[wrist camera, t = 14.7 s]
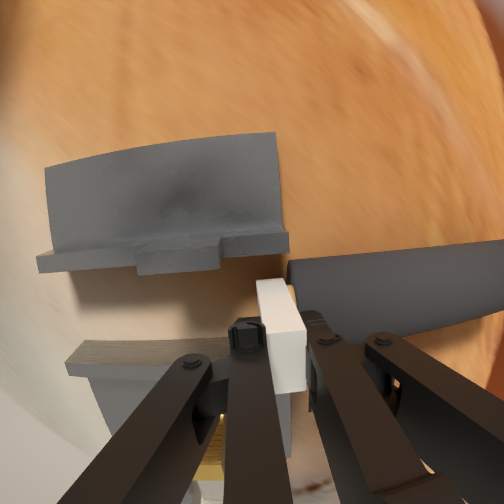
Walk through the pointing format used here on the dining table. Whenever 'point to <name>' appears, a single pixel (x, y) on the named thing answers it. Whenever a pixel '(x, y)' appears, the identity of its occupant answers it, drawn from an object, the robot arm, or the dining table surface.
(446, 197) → the dining table surface
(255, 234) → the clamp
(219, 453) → the white and yellow slider
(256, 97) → the dining table surface
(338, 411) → the robot arm
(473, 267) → the dark grey cylinder
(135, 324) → the dining table surface
